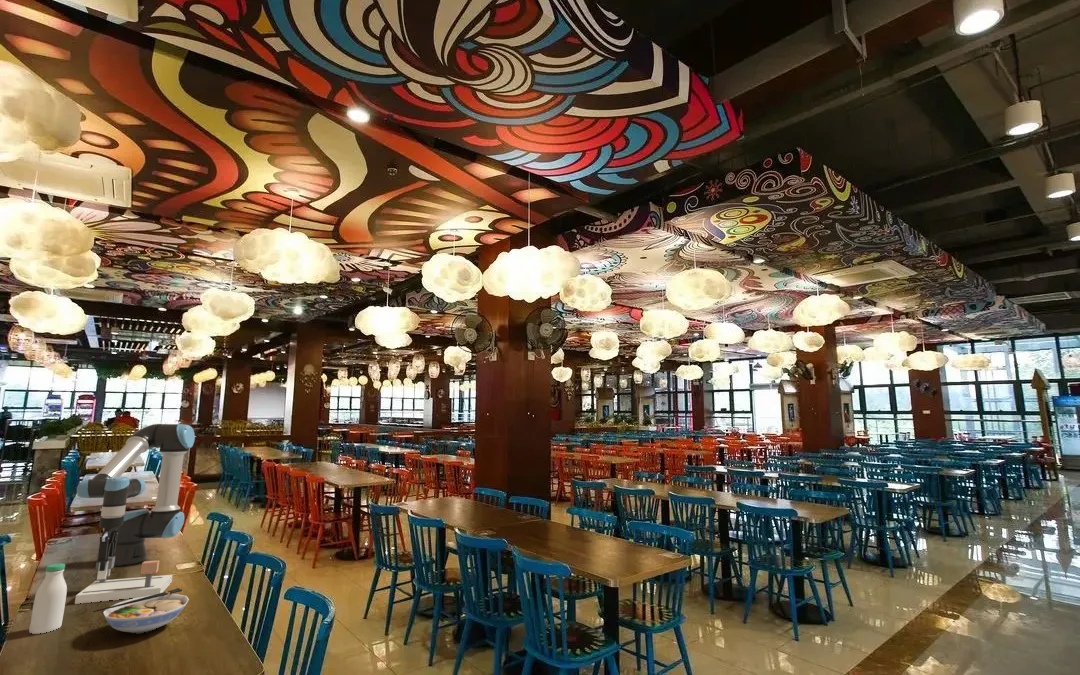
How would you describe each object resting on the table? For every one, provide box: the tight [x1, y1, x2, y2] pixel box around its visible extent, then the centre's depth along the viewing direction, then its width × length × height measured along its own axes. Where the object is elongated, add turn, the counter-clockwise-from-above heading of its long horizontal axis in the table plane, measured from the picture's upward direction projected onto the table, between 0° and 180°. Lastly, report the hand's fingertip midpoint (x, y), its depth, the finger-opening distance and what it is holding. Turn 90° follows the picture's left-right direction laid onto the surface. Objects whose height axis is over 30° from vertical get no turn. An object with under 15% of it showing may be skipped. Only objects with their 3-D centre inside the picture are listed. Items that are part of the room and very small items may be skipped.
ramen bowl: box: [92, 588, 190, 634], centre depth 168 cm, size 25×23×8 cm
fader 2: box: [140, 559, 160, 587], centre depth 200 cm, size 3×5×9 cm, turn 114°
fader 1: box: [94, 556, 115, 582], centre depth 204 cm, size 3×5×9 cm, turn 114°
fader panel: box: [74, 574, 173, 605], centre depth 201 cm, size 18×26×3 cm
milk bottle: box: [28, 562, 68, 635], centre depth 167 cm, size 8×8×20 cm
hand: (103, 577), depth 203 cm, fingers closed on fader 1, 3 cm apart
